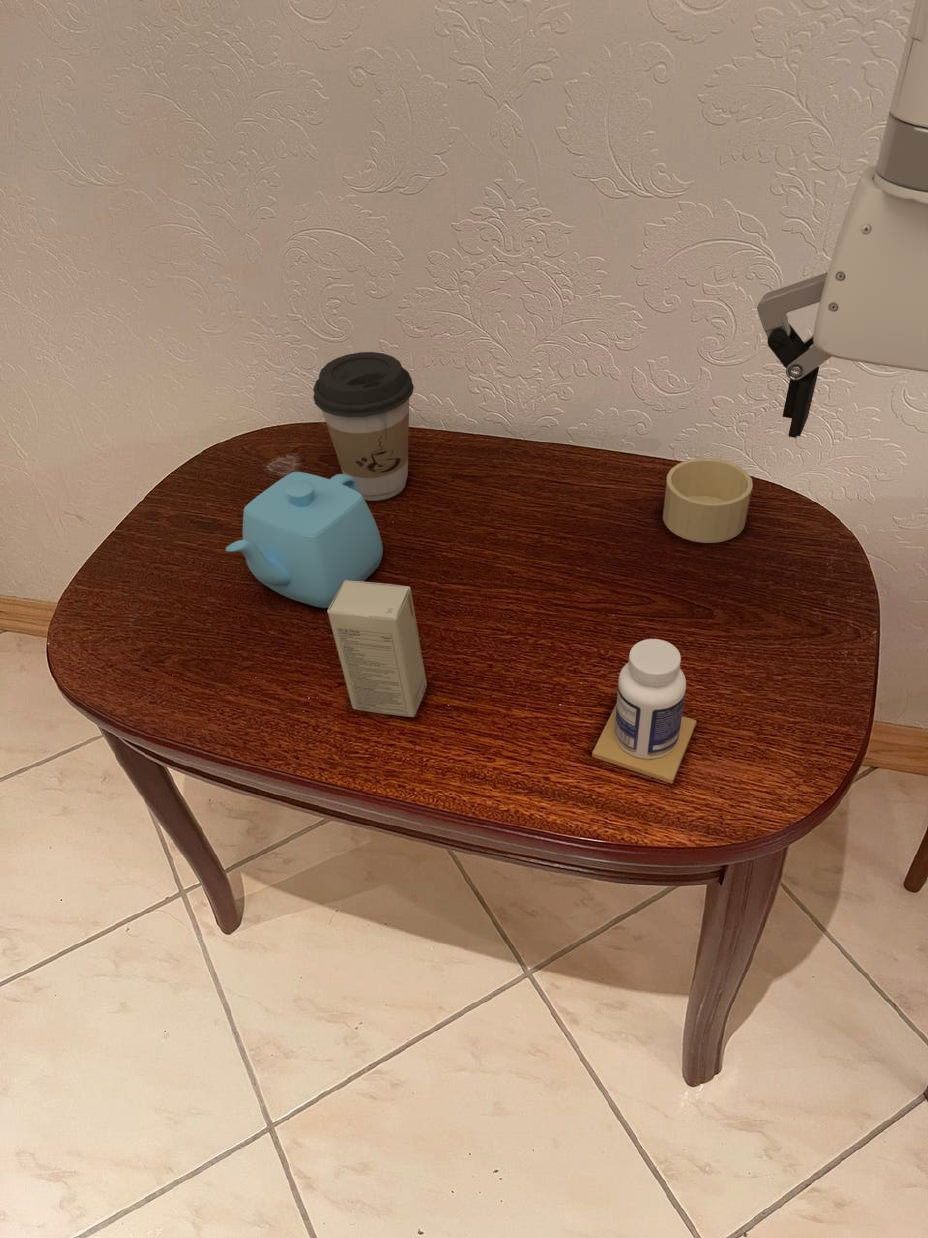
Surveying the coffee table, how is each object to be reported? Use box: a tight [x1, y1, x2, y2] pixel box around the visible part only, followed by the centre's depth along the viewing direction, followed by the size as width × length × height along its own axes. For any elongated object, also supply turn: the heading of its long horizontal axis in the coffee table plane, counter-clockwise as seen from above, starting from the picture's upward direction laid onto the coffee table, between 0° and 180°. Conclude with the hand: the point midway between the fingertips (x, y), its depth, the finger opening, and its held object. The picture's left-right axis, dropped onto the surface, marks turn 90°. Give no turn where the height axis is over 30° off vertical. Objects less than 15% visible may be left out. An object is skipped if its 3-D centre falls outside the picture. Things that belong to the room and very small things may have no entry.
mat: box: [591, 702, 697, 785], centre depth 76 cm, size 7×7×1 cm
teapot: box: [225, 471, 384, 609], centre depth 91 cm, size 12×18×12 cm
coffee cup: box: [312, 351, 415, 502], centre depth 103 cm, size 11×11×15 cm
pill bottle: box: [615, 638, 687, 759], centre depth 73 cm, size 5×5×10 cm
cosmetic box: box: [326, 580, 428, 718], centre depth 78 cm, size 6×4×12 cm
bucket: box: [662, 457, 754, 544], centre depth 97 cm, size 9×9×5 cm
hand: (874, 441), depth 57 cm, fingers open, 9 cm apart
